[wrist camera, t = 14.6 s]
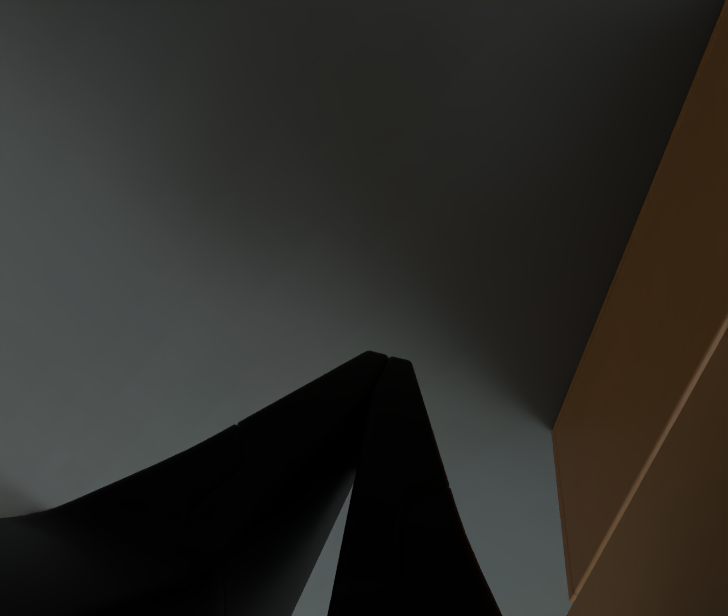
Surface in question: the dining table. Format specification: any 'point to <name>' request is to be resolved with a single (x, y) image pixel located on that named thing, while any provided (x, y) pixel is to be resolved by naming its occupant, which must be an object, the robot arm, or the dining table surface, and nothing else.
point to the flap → (674, 519)
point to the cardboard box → (650, 324)
